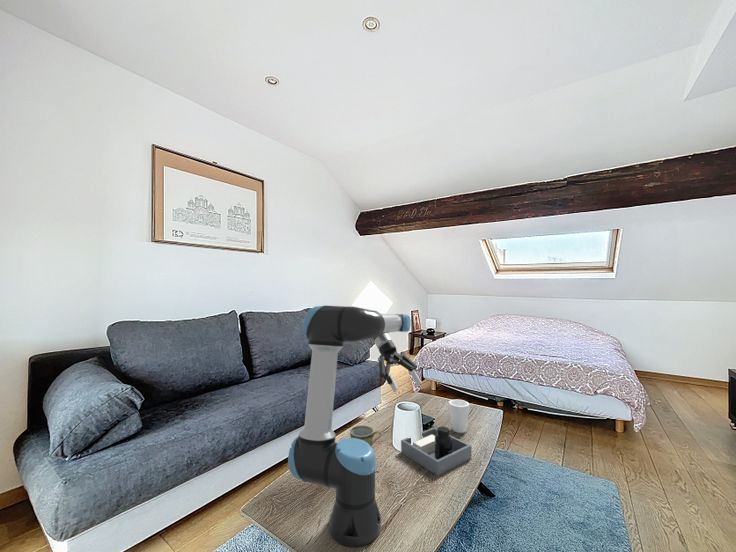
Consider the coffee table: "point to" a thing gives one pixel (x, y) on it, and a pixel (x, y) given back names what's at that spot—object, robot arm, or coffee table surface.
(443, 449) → the supplement bottle
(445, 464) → the tote
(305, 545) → the coffee table surface
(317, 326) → the robot arm
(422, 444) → the cream rectangular block
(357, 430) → the ceramic cup
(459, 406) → the foam cup
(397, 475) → the coffee table surface
